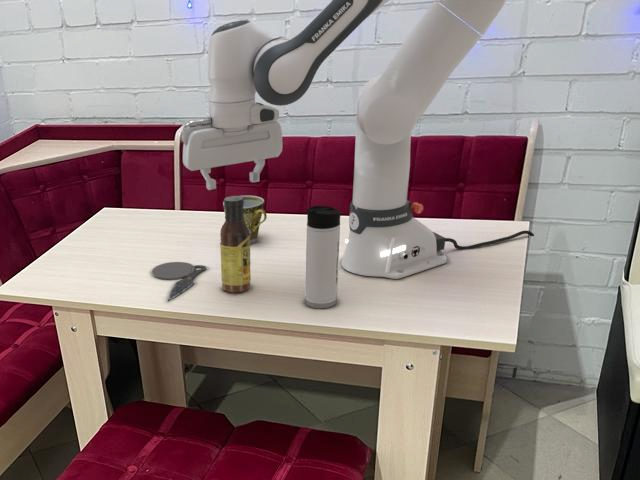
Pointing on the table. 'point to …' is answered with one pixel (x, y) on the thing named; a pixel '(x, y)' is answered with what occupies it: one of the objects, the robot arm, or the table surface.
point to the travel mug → (322, 256)
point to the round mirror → (172, 270)
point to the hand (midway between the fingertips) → (233, 185)
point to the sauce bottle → (235, 247)
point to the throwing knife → (186, 282)
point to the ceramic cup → (253, 215)
